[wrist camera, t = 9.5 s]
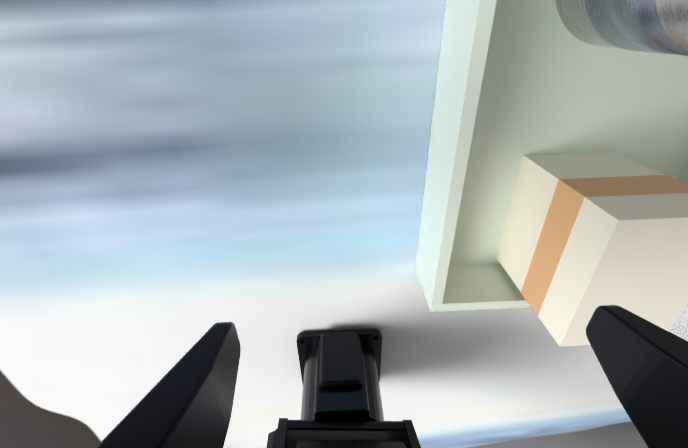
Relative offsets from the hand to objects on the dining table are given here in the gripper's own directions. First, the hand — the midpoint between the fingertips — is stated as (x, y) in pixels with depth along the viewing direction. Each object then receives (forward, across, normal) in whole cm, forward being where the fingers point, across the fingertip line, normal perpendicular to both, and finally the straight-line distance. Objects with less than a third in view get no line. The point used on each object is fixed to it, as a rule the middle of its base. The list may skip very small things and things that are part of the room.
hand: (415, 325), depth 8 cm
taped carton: (+11, -11, +3) cm, 16 cm away
